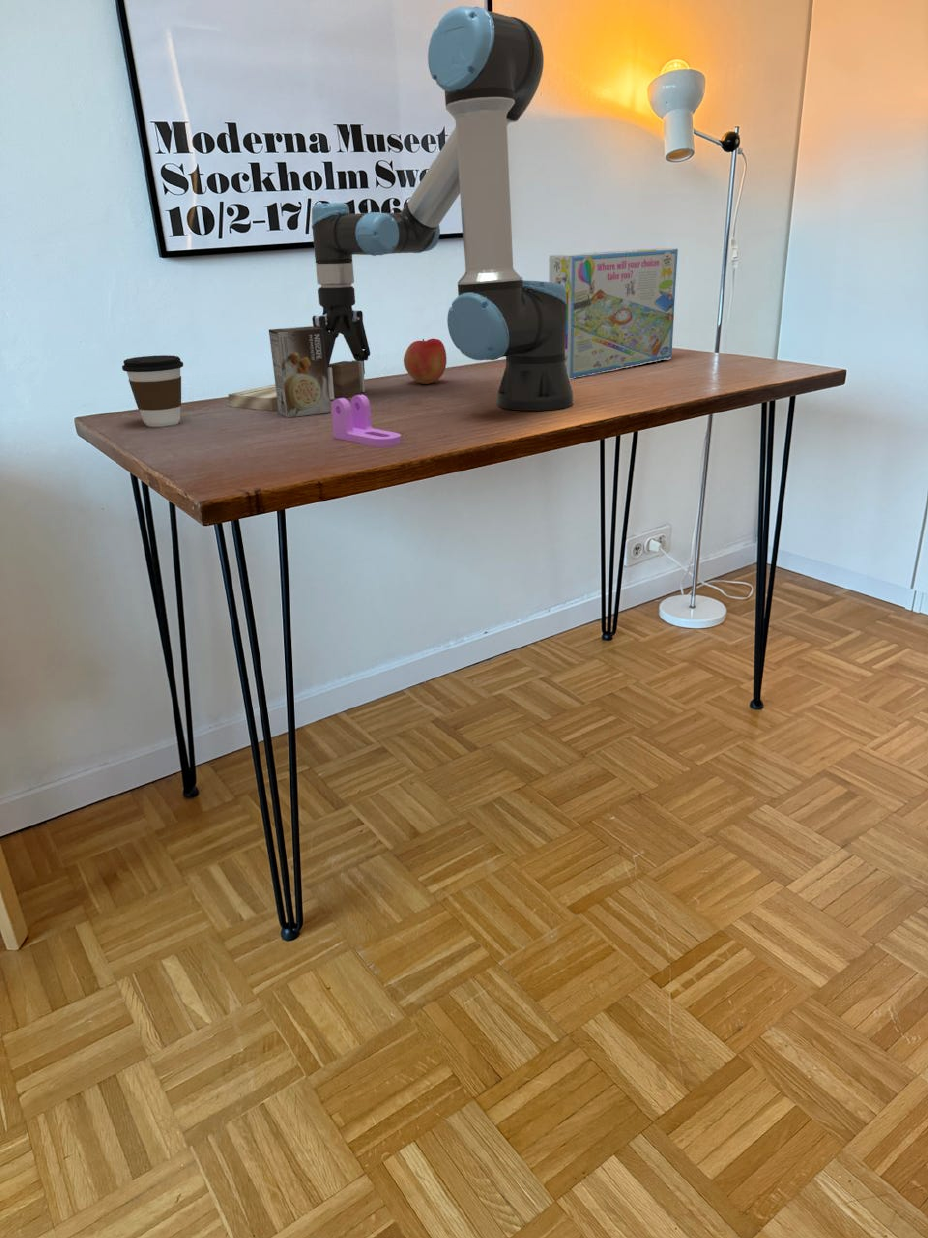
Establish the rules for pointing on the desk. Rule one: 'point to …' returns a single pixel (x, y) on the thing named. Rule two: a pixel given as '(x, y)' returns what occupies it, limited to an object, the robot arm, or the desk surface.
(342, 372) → the chocolate brown block
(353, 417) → the bracket
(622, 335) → the game box
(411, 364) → the apple
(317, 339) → the coffee box
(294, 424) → the desk surface
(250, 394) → the plank
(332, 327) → the robot arm
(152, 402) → the coffee cup
